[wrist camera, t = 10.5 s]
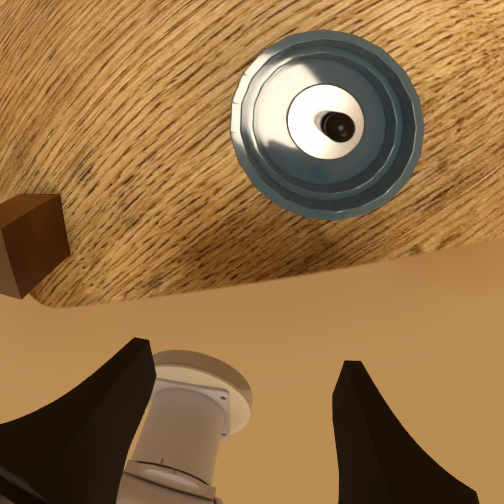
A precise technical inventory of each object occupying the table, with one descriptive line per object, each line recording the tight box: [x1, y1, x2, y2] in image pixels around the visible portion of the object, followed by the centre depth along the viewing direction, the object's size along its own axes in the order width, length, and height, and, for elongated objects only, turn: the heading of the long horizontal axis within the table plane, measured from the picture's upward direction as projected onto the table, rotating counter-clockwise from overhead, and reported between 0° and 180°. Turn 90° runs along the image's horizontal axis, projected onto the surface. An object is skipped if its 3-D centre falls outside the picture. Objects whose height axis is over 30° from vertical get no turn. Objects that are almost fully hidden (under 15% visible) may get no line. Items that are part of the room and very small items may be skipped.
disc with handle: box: [286, 83, 365, 160], centre depth 13 cm, size 4×4×6 cm
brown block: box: [0, 194, 70, 299], centre depth 18 cm, size 5×5×6 cm
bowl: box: [230, 30, 424, 221], centre depth 15 cm, size 9×9×4 cm
